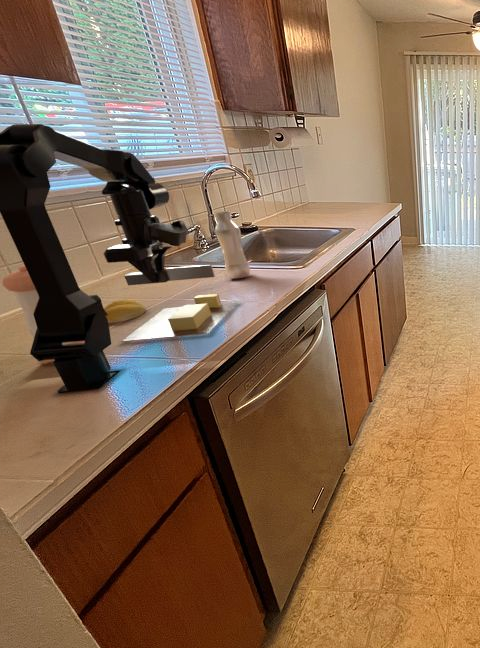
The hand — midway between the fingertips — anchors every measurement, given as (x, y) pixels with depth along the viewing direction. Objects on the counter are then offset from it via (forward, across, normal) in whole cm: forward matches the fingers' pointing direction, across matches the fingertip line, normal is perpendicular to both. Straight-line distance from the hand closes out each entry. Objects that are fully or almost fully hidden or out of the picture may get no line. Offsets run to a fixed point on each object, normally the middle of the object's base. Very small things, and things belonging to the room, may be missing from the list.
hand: (158, 280), depth 94 cm
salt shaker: (+10, -16, +12) cm, 22 cm away
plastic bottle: (+10, +29, -6) cm, 31 cm away
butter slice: (+9, +4, -7) cm, 12 cm away
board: (+10, -4, -5) cm, 12 cm away
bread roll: (+10, +3, +12) cm, 16 cm away
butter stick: (+9, -6, -7) cm, 13 cm away
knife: (0, 0, -3) cm, 3 cm away
